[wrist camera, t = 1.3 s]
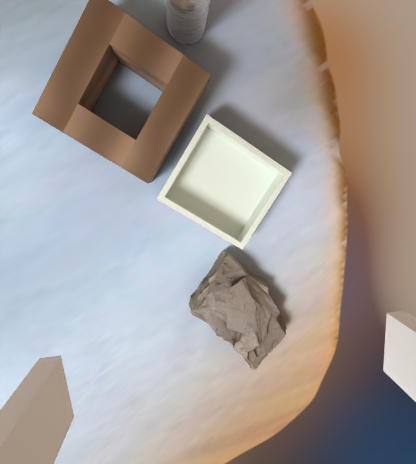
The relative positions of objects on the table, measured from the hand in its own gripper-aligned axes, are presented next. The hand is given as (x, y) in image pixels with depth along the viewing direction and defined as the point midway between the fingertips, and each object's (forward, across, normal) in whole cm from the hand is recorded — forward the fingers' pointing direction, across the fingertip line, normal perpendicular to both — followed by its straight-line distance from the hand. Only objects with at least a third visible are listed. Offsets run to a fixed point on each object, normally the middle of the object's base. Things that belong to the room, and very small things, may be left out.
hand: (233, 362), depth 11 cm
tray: (+23, +3, +6) cm, 24 cm away
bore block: (+23, -6, +15) cm, 28 cm away
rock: (+24, +4, -10) cm, 26 cm away
